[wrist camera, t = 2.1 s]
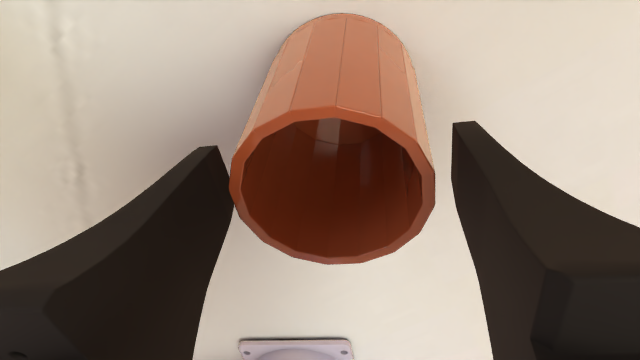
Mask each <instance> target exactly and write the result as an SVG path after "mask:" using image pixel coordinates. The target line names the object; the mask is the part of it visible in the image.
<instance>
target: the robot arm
mask: <svg viewBox="0 0 640 360" xmlns="http://www.w3.org/2000/svg"><path fill="white" fill-rule="evenodd" d="M229 179H230V178H229V175H228V172H227V170H226V167H225V164H224V162H223V159H222V157H221V154H220V151H219V149H218V146H217V145H216V146H205V147H199V148H197V149H196V150H194V151H193V152H192V153H190V154H189V155H188V156H186V157H185V158H184V159H183V160H182V161H180V162H179V163H178V164H177V165H176V166H174V167H173V168H172V169H171V170H170V171H168V172H167V173H166V174H165V175H164V176H162V177H161V178H160V179H159V180H158V181H156V182H155V183H154V184H153V185H151V186H150V187H149V188H148V189H146V190H145V191H144V192H142V193H141V194H140V195H138V196H137V197H136V198H135V199H133V200H132V201H131V202H129V203H128V204H127V205H125V206H124V207H122V208H121V209H119V210H118V211H117V212H115V213H114V214H112V215H110V216H109V217H107V218H106V219H104V220H103V221H101V222H99V223H98V224H96V225H95V226H93V227H91V228H89V229H87V230H86V231H84V232H82V233H80V234H78V235H77V236H75V237H73V238H71V239H69V240H68V241H66V242H64V243H62V244H60V245H58V246H56V247H54V248H52V249H50V250H48V251H46V252H44V253H41V254H39V255H37V256H35V257H33V258H30V259H28V260H26V261H23V262H21V263H19V264H16V265H14V266H11V267H9V268H6V269H4V270H1V271H0V360H192V359H193V353H194V347H195V342H196V337H197V332H198V327H199V322H200V317H201V313H202V309H203V304H204V300H205V296H206V292H207V288H208V285H209V282H210V278H211V276H212V273H213V270H214V267H215V264H216V262H217V259H218V256H219V253H220V251H221V248H222V245H223V242H224V239H225V237H226V234H227V231H228V228H229V225H230V222H231V218H232V213H233V208H234V202H233V199H232V197H231V194H230V192H229ZM451 181H452V187H453V193H454V198H455V204H456V208H457V212H458V215H459V218H460V221H461V225H462V228H463V231H464V234H465V237H466V240H467V244H468V247H469V250H470V253H471V256H472V259H473V262H474V266H475V269H476V273H477V276H478V280H479V285H480V290H481V295H482V300H483V305H484V310H485V315H486V320H487V326H488V331H489V337H490V342H491V348H492V353H493V359H494V360H640V228H639V227H637V226H634V225H632V224H629V223H627V222H624V221H622V220H620V219H617V218H615V217H613V216H611V215H608V214H606V213H604V212H602V211H600V210H598V209H596V208H594V207H592V206H590V205H588V204H586V203H584V202H582V201H580V200H578V199H576V198H574V197H572V196H571V195H569V194H567V193H566V192H564V191H562V190H561V189H559V188H557V187H556V186H554V185H552V184H551V183H549V182H548V181H546V180H545V179H543V178H542V177H540V176H539V175H537V174H536V173H535V172H533V171H532V170H530V169H529V168H528V167H526V166H525V165H524V164H522V163H521V162H520V161H519V160H517V159H516V158H515V157H514V156H513V155H512V154H510V153H509V152H508V151H507V150H506V149H505V148H503V147H502V146H501V145H500V144H499V143H498V142H497V141H496V140H495V139H494V138H493V137H492V136H490V135H489V134H488V133H487V132H486V131H485V130H484V129H483V128H482V127H481V126H480V125H479V124H478V123H477V122H476V121H468V122H458V123H453V129H452V166H451ZM238 349H239V351H240V353H241V355H242V357H243V359H244V360H354V357H353V352H352V348H351V344H350V342H349V341H347V340H266V341H241V342H240V343H239V346H238Z"/></svg>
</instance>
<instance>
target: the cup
mask: <svg viewBox="0 0 640 360" xmlns="http://www.w3.org/2000/svg"><path fill="white" fill-rule="evenodd" d="M229 192H230V194H231V197H232V199H233V202H234V204H235V207H236V210H237V212H238V215H239V217H240V219H241V220H242V221H243V222H244V223H245V224H246V225H247V226H248V227H249V228H250V229H251V230H252V231H253V232H254V233H255V234H256V235H257V236H258V237H259V238H260V239H261V240H262V241H263V242H265V243H266V244H268V245H270V246H272V247H274V248H276V249H278V250H280V251H282V252H284V253H285V254H287V255H289V256H291V257H294V258H298V259H303V260H308V261H312V262H317V263H321V264H327V265H330V264H354V263H364V262H367V261H370V260H373V259H376V258H379V257H382V256H385V255H388V254H391V253H393V252H395V251H397V250H398V249H399V248H401V247H402V246H403V245H405V244H406V243H407V242H408V241H410V240H411V239H412V238H414V237H415V236H416V235H418V234H419V232H421V230H422V228H423V226H424V224H425V223H426V221H427V219H428V217H429V215H430V213H431V212H432V210H433V208H434V206H435V171H434V166H433V161H432V156H431V151H430V146H429V141H428V136H427V131H426V125H425V120H424V115H423V110H422V105H421V100H420V95H419V90H418V85H417V80H416V75H415V71H414V68H413V66H412V63H411V59H410V57H409V55H408V52H407V50H406V49H405V47H404V45H403V44H402V42H401V41H400V40H399V39H398V37H397V36H396V35H395V34H394V33H392V32H391V31H390V30H389V29H388V28H386V27H385V26H383V25H382V24H380V23H378V22H376V21H374V20H372V19H370V18H367V17H364V16H360V15H355V14H343V13H341V14H330V15H326V16H321V17H319V18H316V19H313V20H311V21H309V22H307V23H305V24H303V25H302V26H301V27H299V28H298V29H296V30H295V31H294V32H293V33H292V34H291V35H290V36H289V37H288V38H287V40H286V41H285V42H284V43H283V45H282V47H281V49H280V50H279V52H278V54H277V56H276V57H275V59H274V60H273V63H272V65H271V68H270V70H269V72H268V75H267V77H266V79H265V82H264V84H263V86H262V89H261V91H260V93H259V96H258V98H257V101H256V103H255V105H254V108H253V110H252V112H251V115H250V117H249V119H248V122H247V124H246V126H245V129H244V131H243V133H242V136H241V138H240V141H239V143H238V145H237V148H236V150H235V152H234V155H233V157H232V162H231V171H230V179H229Z"/></svg>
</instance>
